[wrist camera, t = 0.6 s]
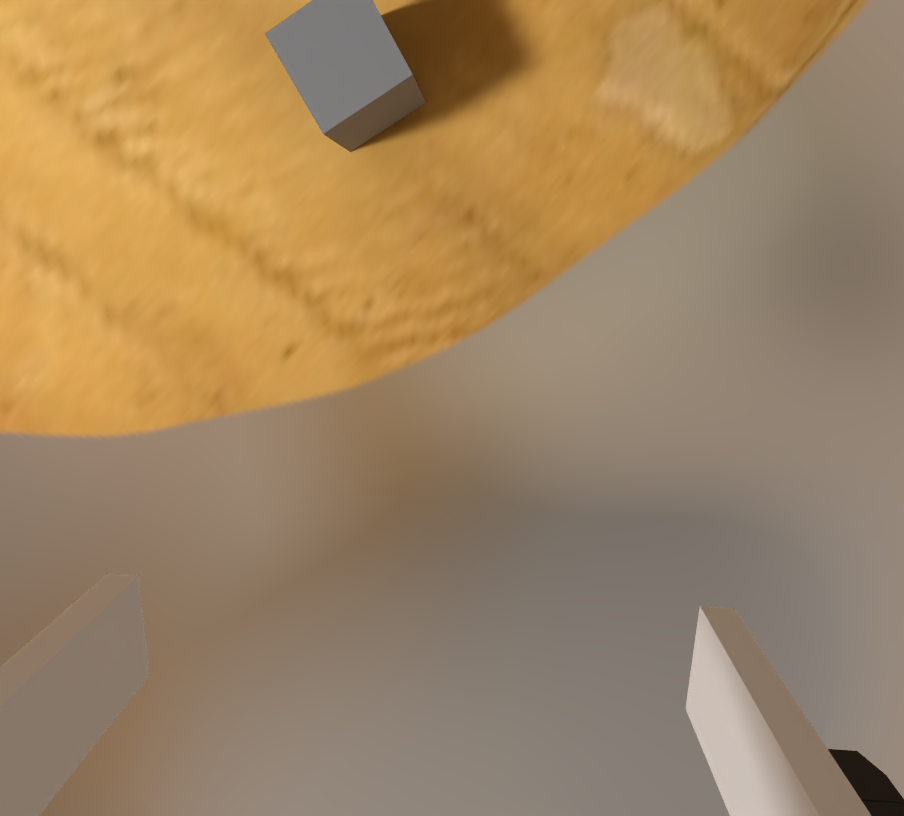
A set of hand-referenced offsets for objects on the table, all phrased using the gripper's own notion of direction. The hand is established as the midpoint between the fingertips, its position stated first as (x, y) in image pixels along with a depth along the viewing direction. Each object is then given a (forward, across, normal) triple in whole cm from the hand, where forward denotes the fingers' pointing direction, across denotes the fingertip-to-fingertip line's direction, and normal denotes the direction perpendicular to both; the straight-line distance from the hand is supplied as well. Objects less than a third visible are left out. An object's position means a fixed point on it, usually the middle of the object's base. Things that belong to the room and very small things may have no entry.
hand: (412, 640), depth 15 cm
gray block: (+25, -6, +17) cm, 31 cm away
